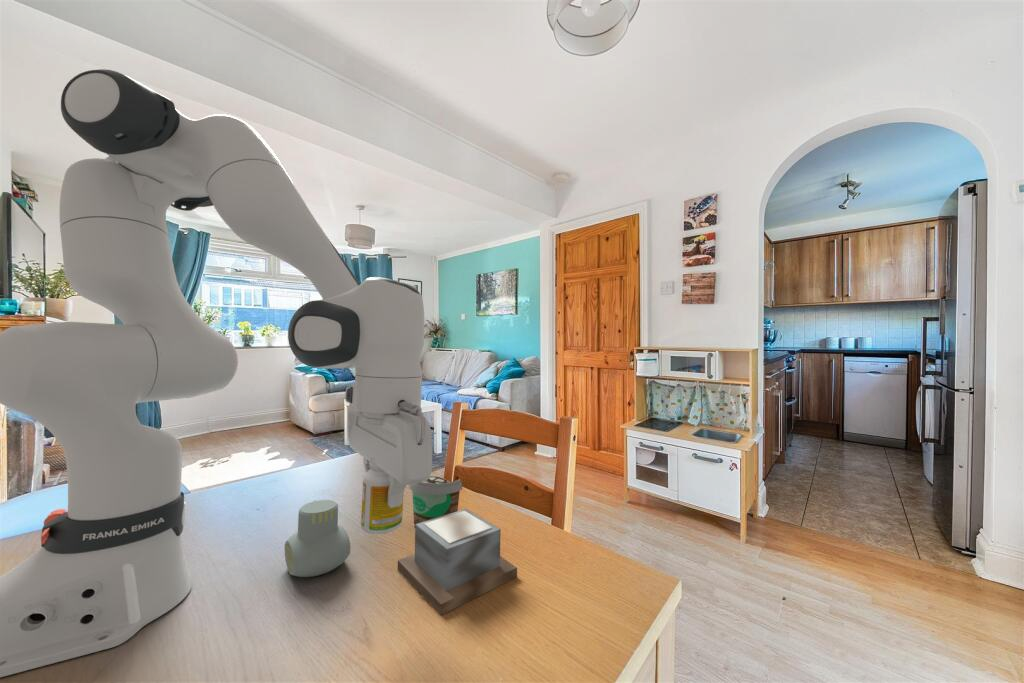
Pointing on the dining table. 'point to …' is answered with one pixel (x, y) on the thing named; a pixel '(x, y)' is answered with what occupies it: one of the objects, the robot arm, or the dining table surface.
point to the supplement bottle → (378, 503)
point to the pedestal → (456, 560)
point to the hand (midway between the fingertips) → (383, 496)
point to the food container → (434, 498)
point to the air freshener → (317, 541)
